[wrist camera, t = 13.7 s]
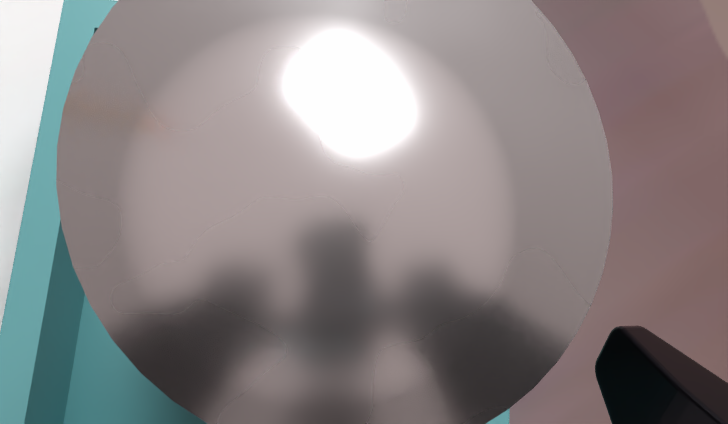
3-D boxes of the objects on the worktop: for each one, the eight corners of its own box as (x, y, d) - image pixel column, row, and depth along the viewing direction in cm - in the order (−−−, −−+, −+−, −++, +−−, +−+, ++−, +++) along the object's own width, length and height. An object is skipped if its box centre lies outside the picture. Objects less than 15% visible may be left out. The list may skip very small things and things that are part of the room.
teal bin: (32, 469, 17) (-36, 518, 12) (102, 68, 19) (65, -9, 15) (444, 480, 19) (506, 525, 15) (459, 121, 21) (516, 69, 17)
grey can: (404, 217, 19) (665, 53, 8) (331, 406, 18) (523, 547, 6) (223, 135, 19) (218, -181, 7) (129, 325, 17) (-74, 319, 5)
